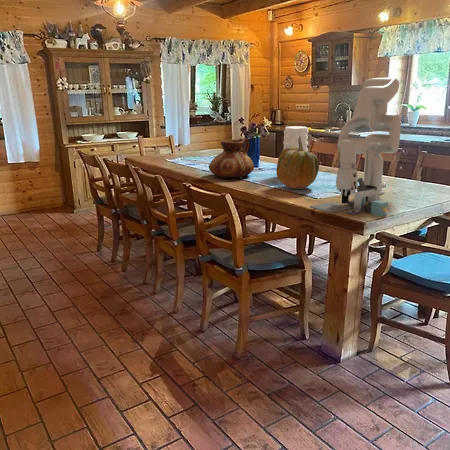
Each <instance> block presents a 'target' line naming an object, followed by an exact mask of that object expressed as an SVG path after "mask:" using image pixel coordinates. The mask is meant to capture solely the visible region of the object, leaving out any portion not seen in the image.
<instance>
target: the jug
mask: <svg viewBox="0 0 450 450" xmlns="http://www.w3.org/2000/svg"><path fill="white" fill-rule="evenodd" d="M243 144H245V145H244V149H243V151H241V149H242V147H243ZM220 145H221V146H222V148H223V151H222V152H221V153H219V154H217V155H216V156H214V157H213V159H211V161H210V163H209V165H208V169H209V171H210V172H211V173H212V174H213V175H215V176H216V177H219V178H220V179H224V180H235V179H237V180H238V179H243V178H246V177H247V176H249V175H250V174H251V173H252V172H253V171H254V169H255V164H254V161H253V160H252V159H251V157H250V156H248V150H249V147H250V142H249V140H248V138H245V137H241V138H238V139H232V138H229V139H223V140H222V139H221V140H220Z"/></svg>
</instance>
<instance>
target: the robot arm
mask: <svg viewBox="0 0 450 450" xmlns="http://www.w3.org/2000/svg"><path fill="white" fill-rule="evenodd" d="M399 88H400V81H399V80H398V79H397V78H395V77H373V78H372V77H371V78H368V79H365V80H364V82H363V87H362V88H361V90H360V91H359V93H358V98H357V100H356V101H357V102H356V106H355V108H354V113H353V116H352V117H351V118H350V119H348V121H346V122H345V124H344V125H343V126H342V128H341V129H340V132H339V136H338V140H337V151H338V152H339V164H338V165H339V166H338V169H337V173H336V180H335V187H336V190H337V191H339V192H340V195H341V204H343V205H345V204H346V205H347V202H348V201H350V200H349V199H350V196H351V194H355V193H356V190H357V186H359V182H358V170H357V168H358V165H357V155H361V154H364V166H363V167H364V169H363V182H364V184H365V185H372V186H376V187H377V190H379V191H380V195H382V194H384V193H385V191H384V190H383V188H386V187H387V183H382V180H383V173H384V171H383V170H384V169H383V168H384V158H383V156H382V155H381V153H383V154H384V153H385V154H395V153H397V152H398V150H399V147H400V140H401V130H402V117H401V116H400V114H398V113H396V112H388V103H390V102H391V100H392V99H393V98H394V97H395V96H396V95H397V93H398V91H399ZM365 124H368V127H369V130H370V131H373V132H384V133H371V134H367V136H366V137H365V138H362V137H349V134H350V133H351V132H352V131H353V130H354V129H356V128H358V127H360V126H362V125H365ZM387 132H388V133H389V134H386V133H387Z"/></svg>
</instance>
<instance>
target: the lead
mask: <svg viewBox="0 0 450 450" xmlns="http://www.w3.org/2000/svg"><path fill="white" fill-rule="evenodd" d="M346 206H347V207H351V208H352V209H354V200H349V201H348V202H347V203H346ZM365 213H368V214H371V205H368V203H365Z"/></svg>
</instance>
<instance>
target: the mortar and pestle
mask: <svg viewBox="0 0 450 450" xmlns="http://www.w3.org/2000/svg"><path fill="white" fill-rule="evenodd" d="M363 179H364V177H359V178H358V186H357V189H356V192H361V191H366V190H372V189H374V190H377V187H376V186H372V185H365V184H364V182H363ZM366 202H367V203H368V196H366Z"/></svg>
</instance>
